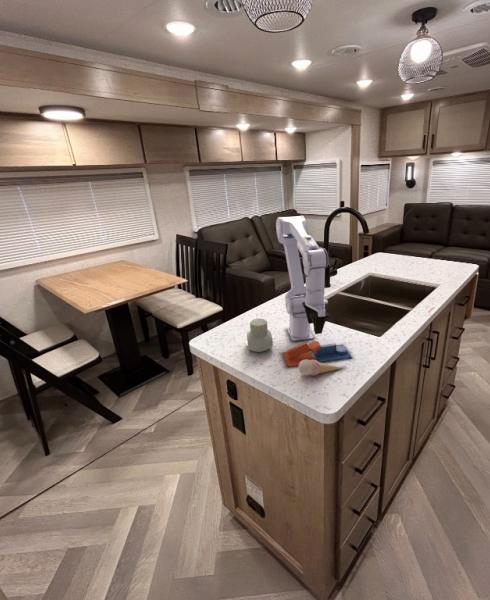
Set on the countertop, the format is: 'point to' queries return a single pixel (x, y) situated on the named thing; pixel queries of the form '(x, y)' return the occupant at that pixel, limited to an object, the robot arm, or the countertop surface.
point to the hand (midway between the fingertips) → (314, 328)
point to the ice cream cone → (314, 367)
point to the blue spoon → (331, 349)
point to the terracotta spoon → (303, 349)
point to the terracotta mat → (297, 358)
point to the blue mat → (332, 356)
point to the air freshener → (259, 336)
